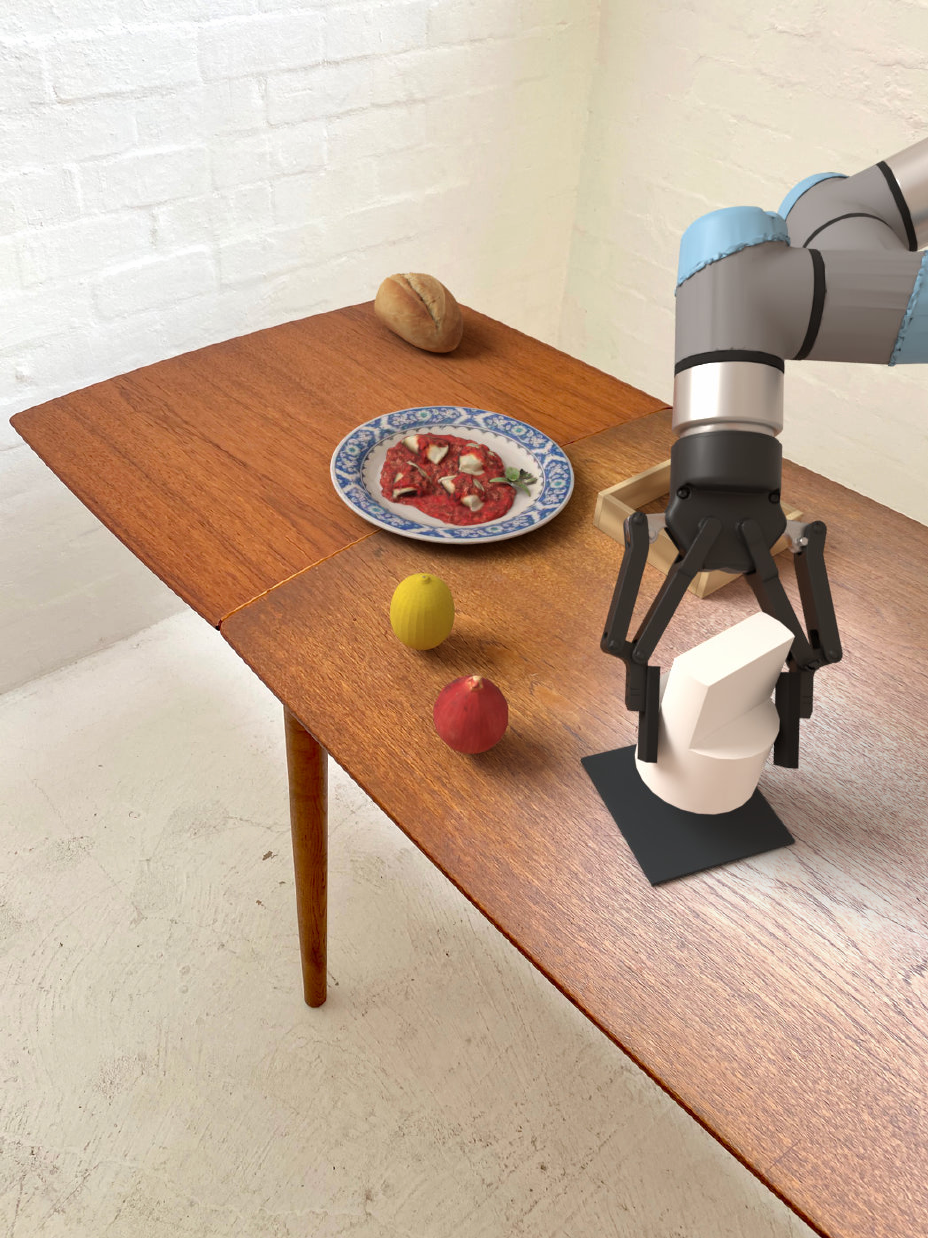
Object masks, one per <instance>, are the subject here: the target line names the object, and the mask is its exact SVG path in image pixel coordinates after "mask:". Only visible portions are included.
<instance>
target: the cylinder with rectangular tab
mask: <svg viewBox="0 0 928 1238" xmlns="http://www.w3.org/2000/svg"><path fill="white" fill-rule="evenodd" d="M794 637H795V636H794V635H793V633H792V632H791V631H790V630H789V629H787V628H786V627H785V626H784V625H783V624H782V623H781V622H779V621H778V620H776V619H774V618H773V617H771V616H769V615H768V614H766V613H764V612H762V610H761V611H758V612H756V613H754V614H753V615H751V616H749V617H746V618H745V619H744V620H741V621H740V622H738V623H736V624H734V625H733V626H731V627H729V628H727V629H725V630H723V631H722V632H720V633H718V634H716V635H714V636H712V637H711V638H709V639H707V640H705V641H703V642H701V643H700V644H698V645H696V646H694V647H693V648H691V649H689V650H687V651H685V652H683V653H681V654H680V655H678V656H676V657H674V659H673V662H672V665H671V669H669V670H668V671H666V672H664V674H662V675H660V695H659V725H658V754H657V763H646V762H643V761H641V760H638V759H637V753H638V741H637V743H636V744H637V747H636V752H635V760H636V767H637V769H638V772H639V774H640V776H641V778H642V780H643V781H644V782H645V784H646V785H647V786H648V787H649V788H650V789H651V791H652V792H653V793H655V794H656V795H657V796H659V797H660V798H661V799H663V800H664V801H665V802H667V803H669V804H671V805H673V806H675V807H678V808H680V809H682V810H686V811H690V812H694V813H698V814H719V813H724V812H730V811H732V810H734V809H736V808H738V807H740V806H742V805H743V804H744V803H745V802H746V801H747V800H748V799H749V798H750V797H751V796H752V794H753V792H754V790H755V788H756V786H757V785H758V783H759V781H760V778H761V776H762V773H763V772H764V769H765V766H766V763H767V761H768V759H769V757H770V754H771V751H772V750H773V748H774V742H775V740H776V737H777V735H778V732H779V723H780V719H779V716H778V713H777V710H776V706H775V702H774V701H773V699H772V696H773V693H774V692H775V686H776V683H777V680H778V678H779V675H780V673H781V672H782V670H783V667H784V665H785V664H786V663H785V660H786V658H787V655H788V652H789V650H790V647H791V645H792V642H793V640H794Z"/></svg>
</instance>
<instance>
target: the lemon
mask: <svg viewBox="0 0 928 1238" xmlns="http://www.w3.org/2000/svg"><path fill="white" fill-rule="evenodd" d="M452 593H453V592H452V591H451V590H450V587H449V586H448V584H447V583H446V582H445V581H444V580H443V579H442V578H440V577H438V576H437V575H434V574H432V573H428V572H418V573H414V574H411V575H408V576H407V577H405V578H404V579H402V581H400V583H399V584H398V585H397V586H396V588H395V590H394V592H393V595H392V597H391V601H390V607H389V620H390V624H391V628H392V631H393V633H394V635H395V636H396V638H397V639H398V640H399V641H400V642H401V643H402V644H403V645H405V646H406V647H408V648H410V649H414V650H418V651H427V650H431V649H434V648H437V647H438V646H440V645H441V644H442V643H443V642H444V641H446V640H447V638H448V637H449V635H450V633H451V631H452V629H453V627H454V622H455V615H456V607H455V602H454V597H453V594H452Z"/></svg>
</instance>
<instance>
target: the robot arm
mask: <svg viewBox="0 0 928 1238" xmlns="http://www.w3.org/2000/svg"><path fill="white" fill-rule="evenodd" d="M927 247H928V136H927V137H925V138H923V139H921V140H919V141H917V142H915V143H913V144H911V145H909V146H907V147H906V148H903V149H901V150H900V151H897V152H895V153H894V154H892V155H890V156H888V157H887V158H884V159H882V160H881V161H879V162H877V163H875V164H873V165H871V166H869V167H866V168H865V169H863V170H861V171H858V172H857V173H855V174H852V175H851V176H850V175H846V174H844V173H842V172H835V171H833V172H832V171H827V172H826V171H825V172H819V173H814V174H812V175H809V176H808V177H805V178H804V179H801V181H799V182H798V183H796V184H795V185H794V187H792V188H791V189H790V190H789V191H788V193H787V194H786V195H785V196H784V198H783V200H782V201H781V203H780V204H779V207H778V209H777V212H776V211H773V210H772V211H771V210H764V209H763V208H762V207H760V206H753V205H737V206H729V207H722V208H719V209H715V210H712V211H710V212H707V213H706V214H704V215H702V216H700V217H698V218H696V219H695V220H694V221H693V222H691V224H689V225H688V227H687V228H686V229H685V231H684V232H683V233H682V235H681V238H680V243H679V254H678V267H677V277H676V287H675V289H674V290H673V291H674V297H675V312H674V313H675V318H674V329H675V330H674V364H673V365H674V367H673V368H674V370H673V397H672V398H673V399H672V416H671V417H672V419H671V432H672V434H673V435H674V436H675V437H676V438H677V440H676V441H675V442H674V444H672V445H671V447H670V459H671V466H670V492H669V499H668V503H667V505H666V507H665V509H664V511H663V512H659V513H645V512H644V511H642V510H641V511H640V510H637V511H636V512H634V513H633V514H632V515H630V516H629V517H628V518H626V519H625V520H624V522H623V531H624V542H625V546H624V552H623V555H622V560H621V564H620V567H619V571H618V574H617V579H616V582H615V586H614V589H613V590H614V591H613V594H612V598H611V601H610V605H609V609H608V613H607V616H606V620H605V623H604V627H603V631H602V635H601V639H600V642H599V648H600V650H601V652H602V653H604V654H606V655H610V656H612V657H614V658H617V659H619V660H621V661H622V662H623V664H624V666H625V684H624V685H625V690H624V705H625V708H626V711H629V712H637V713H638V725H637V726H638V728H637V729H638V730H637V742H638V753H637V759H638V760H641V761H643V762H646V763H657V754H658V725H659V695H660V677H661V666H660V665H649V660H651V657H652V655H653V653H654V652H655V650H656V648H657V646H658V644H659V642H660V641H661V639H662V637H663V635H664V633H665V631H666V629H667V628H668V626H669V623H670V622H671V620H672V618H673V616H674V614H675V613H676V610H677V609H678V608H679V605H680V603H681V601H682V600H683V597H685V594H686V592H687V591H688V590H687V588H688V587H689V585H690V583H691V581H692V580H693V579H694V577H695V576H696V575H697V573H698V572H711V571H716V570H720V571H723V572H726V573H729V574H741V573H742V574H743V575H742V576H743V578H744V581H745V582H746V584H747V586H749V587H750V588H751V591H752V593H753V594H754V597H755V599H756V601H757V604H758V605H759V608H760V610H761V612H764V613H766V614H768V615H769V616H771V617H773V618H774V619H776V620H778V621H779V622H781V623H782V624H783V625H784V626H785V627H786V628H787V629H789V630H790V631H791V632H792V633H793V635H794V636H795V637H794V640H793V642H792V645H791V647H790V650H789V652H788V655H787V658H786V660H785V663H784V664H785V665H786V667H787V668H788V671H781V673H780V675H779V678H778V680H777V683H776V686H775V688H774V704H775V706H776V710H777V713H778V716H779V719H780V723H779V732H778V735H777V737H776V740H775V742H774V744H773V755H772V756H773V758H772V759H773V760H772V763H773V765H774V766H777V767H781V768H783V769H790V770H794V769H795V770H799V767H800V766H799V765H800V764H799V763H800V760H799V759H800V723H801V721H800V720H801V719H802V720H803V719H804V720H805V719H807V720H810V719H811V717H812V715H813V712H814V683H815V682H814V681H815V680H814V679H815V678H814V677H815V673H816V672H817V671H819V670H820V669H821V668H823V667H826V666H829V665H832V664H837V663H840V662H841V661H842V660H843V657H844V652H843V648H842V646H843V645H842V642H841V641H842V640H841V637H840V631H839V627H838V621H837V617H836V616H837V615H836V612H835V606H834V601H833V596H832V591H831V586H830V581H829V576H828V571H827V566H826V561H825V558H824V557H825V556H824V553H825V545H826V539H827V531H828V528H827V524H826V523H825V522H824V521H822V520H819V519H818V520H814V521H811V522H805V521H801V522H800V521H794V520H788V519H786V516H785V514H784V512H783V510H782V507H781V503H780V500H781V497H782V482H783V481H782V476H783V475H782V474H783V444H782V443H781V442H780V440H779V439H778V438H777V436H779V435H780V434H781V433H782V432H783V430H784V395H785V394H784V393H785V392H784V390H785V389H784V388H785V387H784V386H785V381H784V380H785V373H786V371H785V370H786V369H785V368H786V365H785V364H786V363H785V361H799V362H800V361H812V362H828V363H829V362H830V363H849V364H864V365H866V364H868V365H882V366H883V365H886V366H887V367H895V366H896V365H923V364H924V365H927V364H928V249H924V248H927ZM661 529H664V530H665V532H666V533H667V535H668V536H669V538H670V539H671V541H672V542H673V544H674V545H675V547H676V548H677V550H678V551H679V553H678V554H677V556H676V558H675V560H674V562H673V564H672V565H671V567H670V569H669V571H668V575H666V577H665V579H664V581H663V583H662V585H661V586H660V588H659V590H658V592H657V594H656V596H655V598H654V600H653V602H652V603H651V605H650V607H649V609H648V610H647V612H646V613H645V616H644V618H643V619H642V621H641V623H640V625H639V627H638V629H637V631H636V633H635V635H634V636H633V638H632V639H631V641H629V640H627V636H628V632H629V629H630V625H631V622H632V618H633V613H634V610H635V606H636V602H637V598H638V595H639V592H640V591H639V590H640V588H641V583H642V581H643V580H642V579H643V575H644V573H645V572H644V571H645V568H646V564H647V562H646V561H647V557H648V552H649V545H650V544H652V543H654V542H655V541H656V540H657V538H658V533H659V531H660V530H661ZM781 536H783V537H785V539H786V540H787V546H788V548H787V549H788V550H789V551H790V552H791V553H792V554H793V556H792V557H793V567H794V568H793V569H794V573H795V578H796V584H797V588H798V593H799V598H800V603H801V608H802V613H803V619H804V624H805V629H806V633H807V634H805V631H804V630H803V627H802V625H801V623H800V621H799V619H798V617H797V614H796V612H795V610H794V607H793V606H792V604H791V601H790V599H789V597H788V595H787V592H786V590H785V588H784V586H783V584H782V581H781V579H780V571H779V568H778V566H777V563H776V562H775V559H774V556H773V557H772V555H771V553H770V550H771V549H772V547H773V546H774V545H775V543H776V542H777V541H778V540H779V538H780V537H781ZM806 635H807V636H806Z"/></svg>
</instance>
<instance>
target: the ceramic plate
mask: <svg viewBox="0 0 928 1238" xmlns="http://www.w3.org/2000/svg"><path fill="white" fill-rule="evenodd" d="M329 468H330V469H329V470H330V477H331V482H332V484H333V487H334V490H335V491H336V493H337V495H338V497H340V499H341V500H342V501H343V502H344V504H345V505H346V506H347V507H348V508H349V509H351V511H353V512H354V513H355V514H357V516H360V517H361V518H363V519H364V520H365V521H367V522H369V523H371V524H372V525H375V526H377V527H379V528H381V529H384V530H386V531H388V532H390V533H394V534H397V535H400V536H403V537H407V538H410V539H414V540H420V541H425V542H431V543H436V544H437V543H439V544H449V545H450V544H452V545H453V544H455V545H474V544H484V543H494V542H499V541H504V540H505V541H506V540H509V539H512V538H515V537H519V536H522V535H524V534H528V533H530V532H531V531H532V532H533V531H535V530H536V529H538V528H541V527H542V526H544V525H546V524H547V523H549V522H550V521H551V520H552V519H554V518H556V517H557V515H559V514H560V513H561V512H562V511H563V510H564V508H565V507H566V506H567V504H568V502H569V501H570V499H571V497H572V493H573V491H574V486H575V474H574V473H575V472H574V469H573V466H572V463H571V460H570V459H569V457H568V456H567V454H566V453H565V451H564V450H563V449H562V447H560V446H559V444H558V443H557V442H555V440H553V439H552V438H551V437H549V436H548V435H546V434H545V433H544V432H542V431H541V430H540V429H537V428H536V427H534V426H532V425H530V424H529V423H526V422H524V421H522V420H518V419H517V418H514V417H511V416H508V415H506V414H502V413H499V412H495V411H491V410H487V409H486V410H485V409H481V408H475V407H467V406H457V405H431V406H430V405H429V406H418V407H410V408H405V409H400V410H396V411H392V412H388V413H385V414H381V415H380V416H377V417H374V418H373V419H370V420H368V421H366V422H364V423H362V424H359V425H358V426H357V427H356V428H355V427H354V429H353V430H351V431H350V432H349V433H347V435H346V436H344V437H343V439H341V440H340V442H339V443H338V445H337V446H336V447H335V450H334V451H333V453H332V457H331V459H330V467H329Z"/></svg>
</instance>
